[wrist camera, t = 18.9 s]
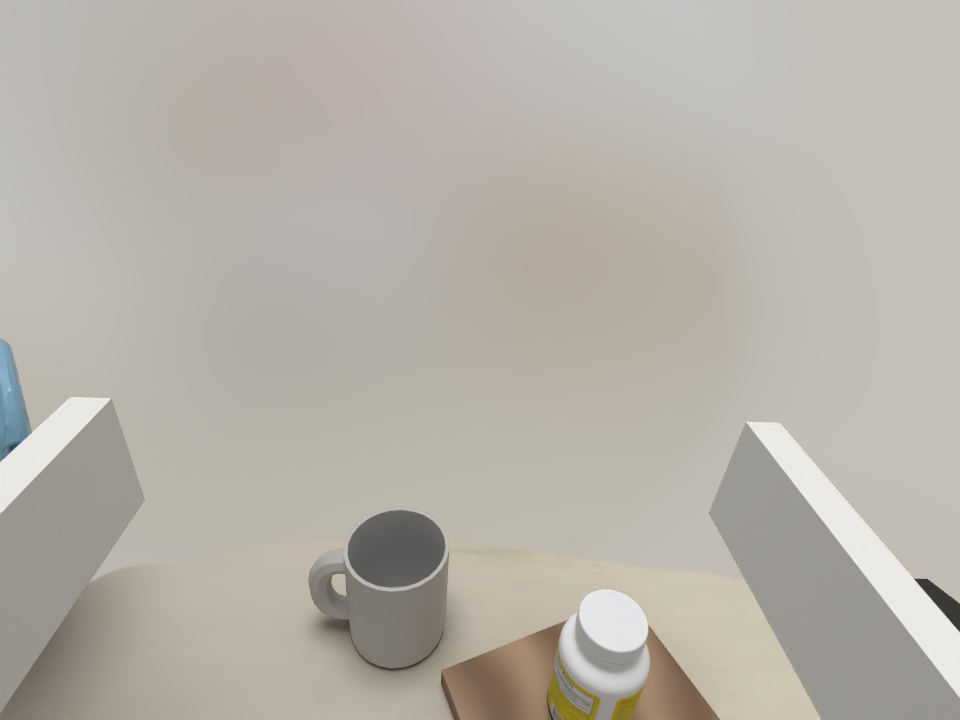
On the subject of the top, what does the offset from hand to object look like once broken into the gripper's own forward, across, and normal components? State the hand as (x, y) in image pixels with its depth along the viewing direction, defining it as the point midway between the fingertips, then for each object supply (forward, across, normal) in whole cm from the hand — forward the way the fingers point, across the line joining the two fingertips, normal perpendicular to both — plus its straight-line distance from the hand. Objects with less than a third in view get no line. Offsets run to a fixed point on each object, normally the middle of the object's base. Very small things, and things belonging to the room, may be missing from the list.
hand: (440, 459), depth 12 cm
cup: (+16, -4, -32) cm, 36 cm away
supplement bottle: (+9, +11, -30) cm, 33 cm away
